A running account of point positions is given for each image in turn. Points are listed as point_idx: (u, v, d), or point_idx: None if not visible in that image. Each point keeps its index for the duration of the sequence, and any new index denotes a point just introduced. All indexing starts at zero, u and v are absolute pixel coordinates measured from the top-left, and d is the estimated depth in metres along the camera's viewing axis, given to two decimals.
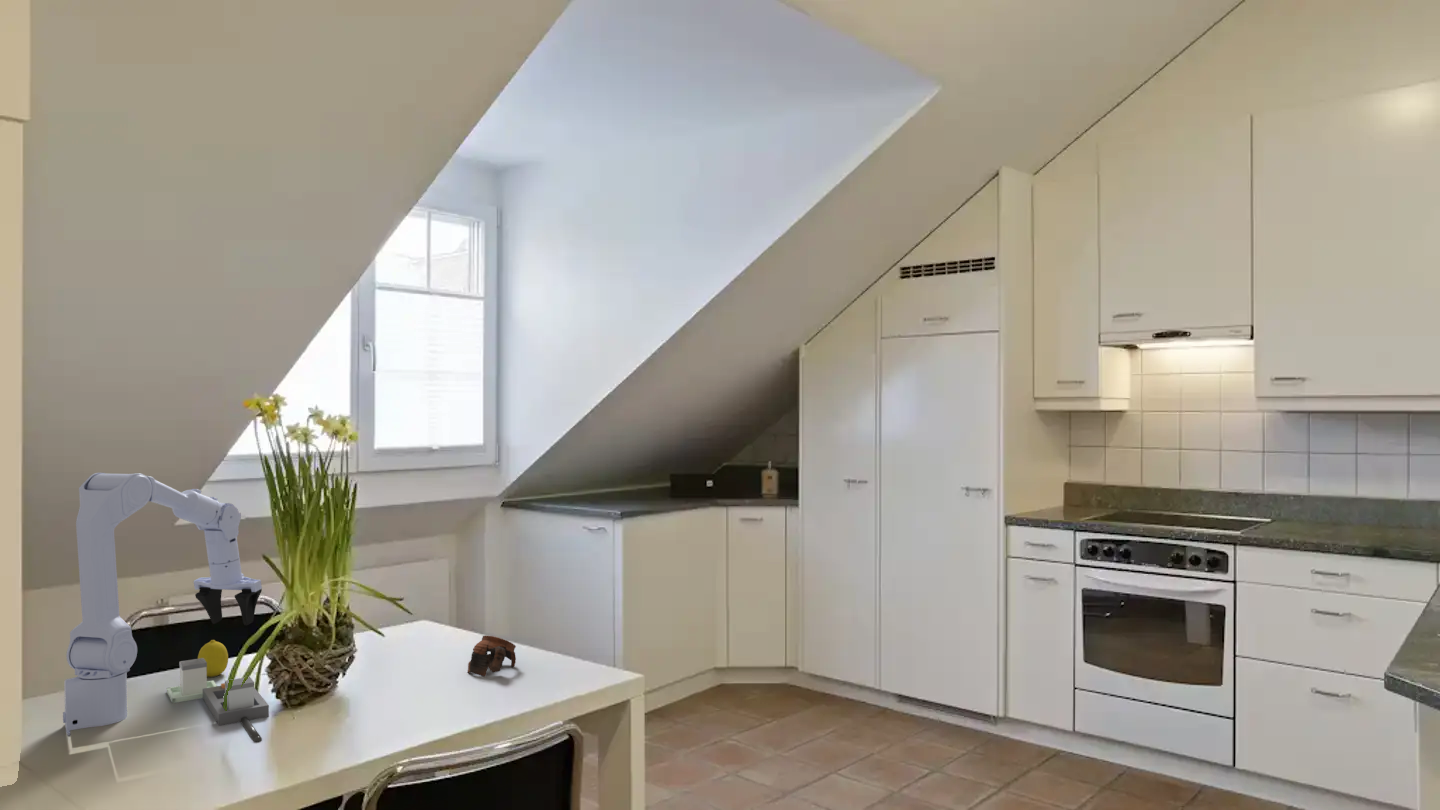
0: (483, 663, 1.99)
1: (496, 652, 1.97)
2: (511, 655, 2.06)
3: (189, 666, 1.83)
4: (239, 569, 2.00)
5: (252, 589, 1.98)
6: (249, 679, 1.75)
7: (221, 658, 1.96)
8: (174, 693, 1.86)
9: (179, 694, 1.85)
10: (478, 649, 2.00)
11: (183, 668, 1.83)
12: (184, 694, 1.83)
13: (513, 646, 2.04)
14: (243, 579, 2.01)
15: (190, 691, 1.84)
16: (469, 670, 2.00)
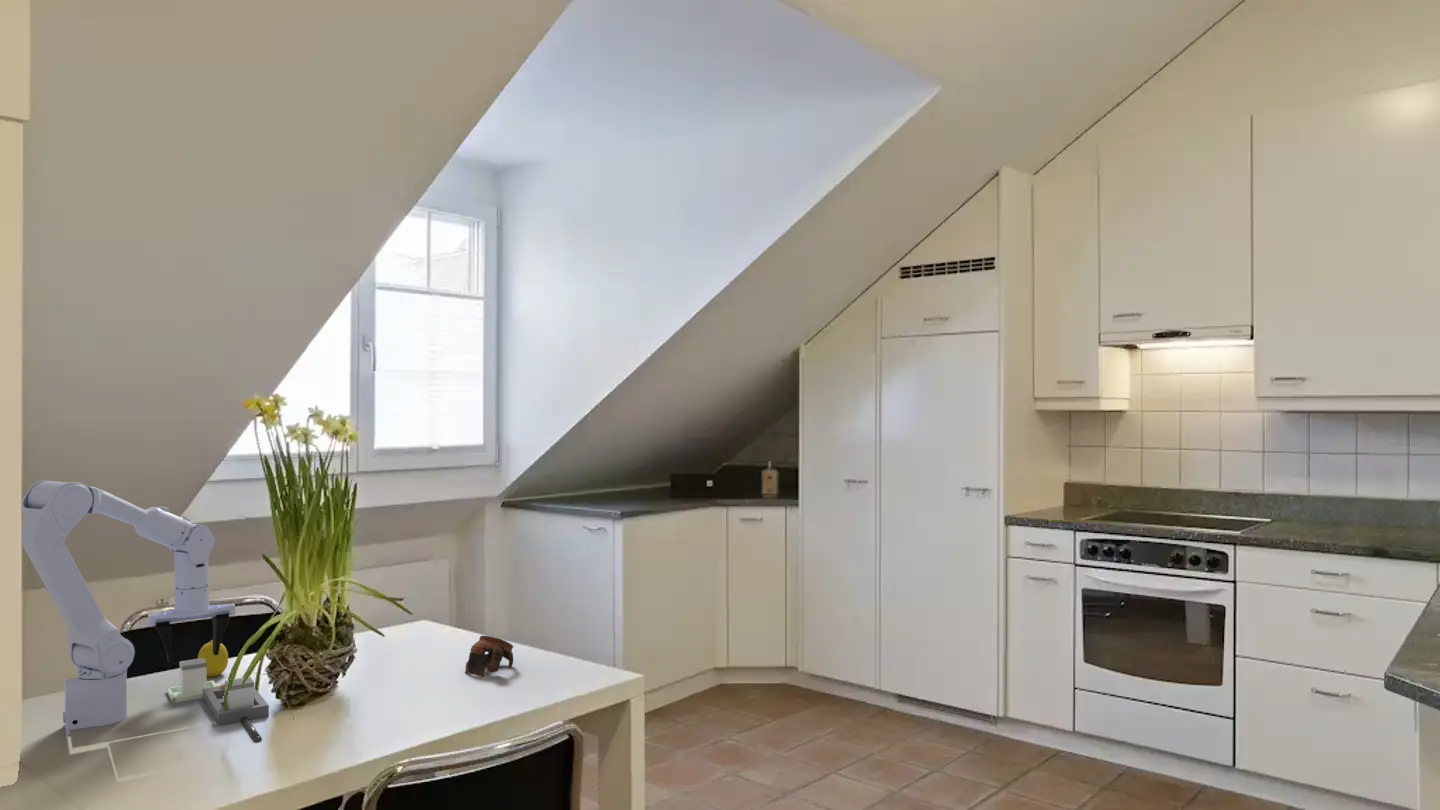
0: (481, 663, 1.99)
1: (494, 652, 1.97)
2: (509, 655, 2.06)
3: (189, 666, 1.83)
4: None
5: (231, 612, 1.89)
6: (249, 679, 1.75)
7: (221, 658, 1.96)
8: (174, 693, 1.86)
9: (179, 694, 1.85)
10: (476, 649, 2.00)
11: (183, 668, 1.83)
12: (184, 694, 1.83)
13: (511, 646, 2.04)
14: None
15: (190, 691, 1.84)
16: (467, 670, 2.00)
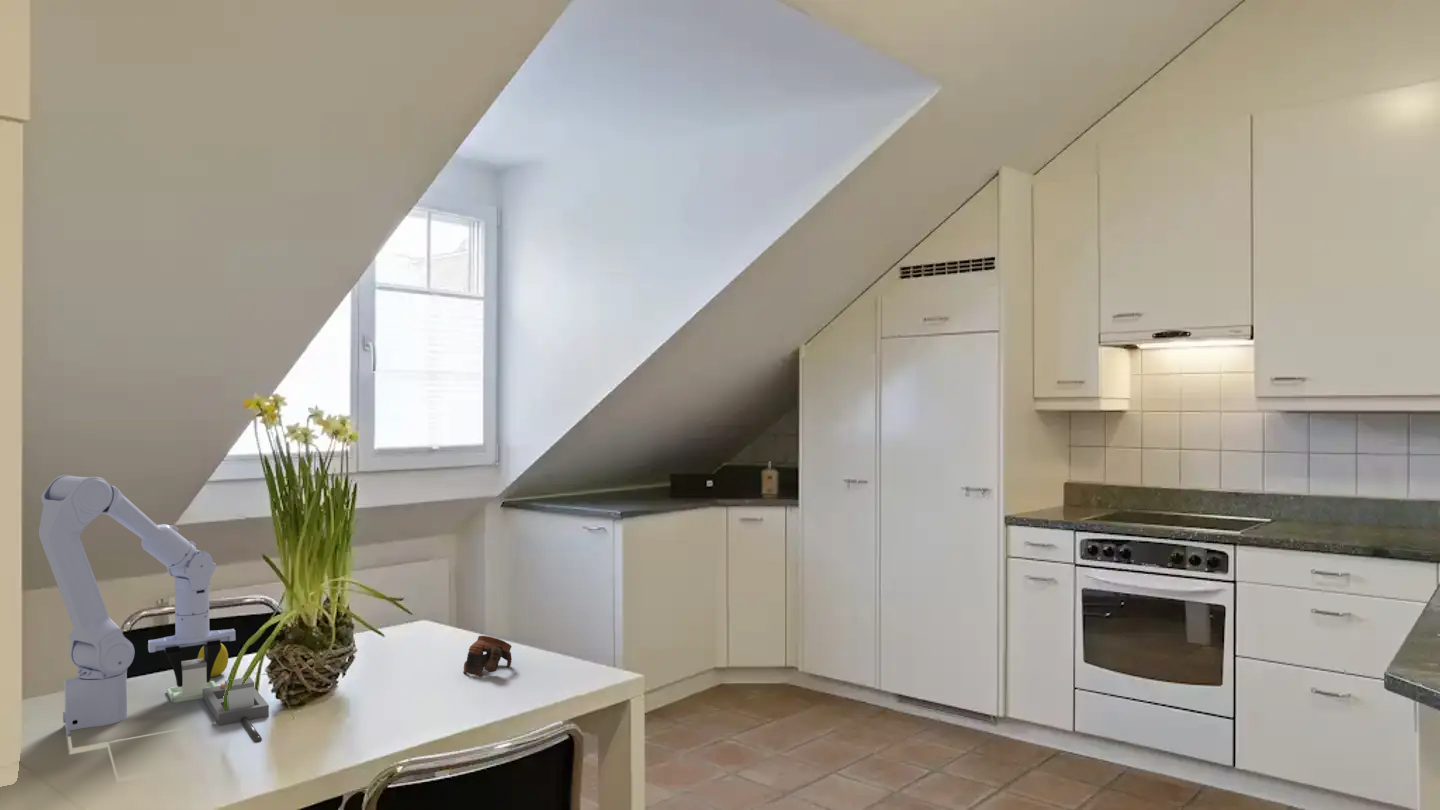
0: (479, 663, 1.99)
1: (492, 652, 1.97)
2: (507, 655, 2.06)
3: (189, 666, 1.83)
4: None
5: (231, 638, 1.89)
6: (249, 679, 1.75)
7: (221, 658, 1.96)
8: (174, 693, 1.86)
9: (179, 694, 1.85)
10: (474, 649, 2.00)
11: (183, 668, 1.83)
12: (184, 694, 1.83)
13: (509, 646, 2.04)
14: None
15: (190, 691, 1.84)
16: (465, 670, 2.00)
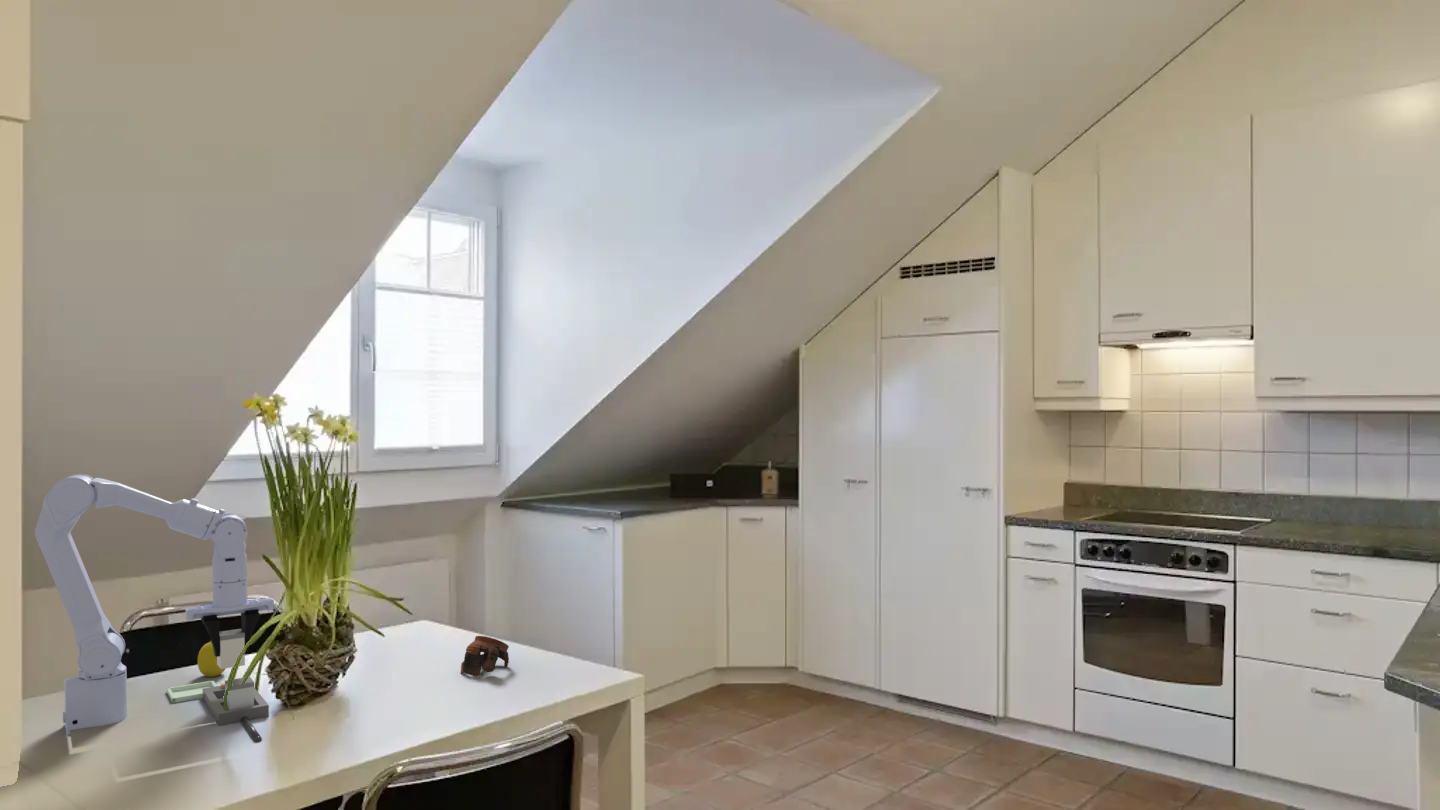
0: (476, 663, 1.98)
1: (489, 652, 1.97)
2: (504, 655, 2.06)
3: (227, 636, 1.78)
4: None
5: (270, 607, 1.83)
6: (249, 679, 1.75)
7: None
8: (174, 693, 1.86)
9: (179, 694, 1.85)
10: (471, 649, 2.00)
11: (221, 638, 1.78)
12: (222, 665, 1.78)
13: (506, 646, 2.04)
14: None
15: (228, 662, 1.79)
16: (462, 670, 2.00)
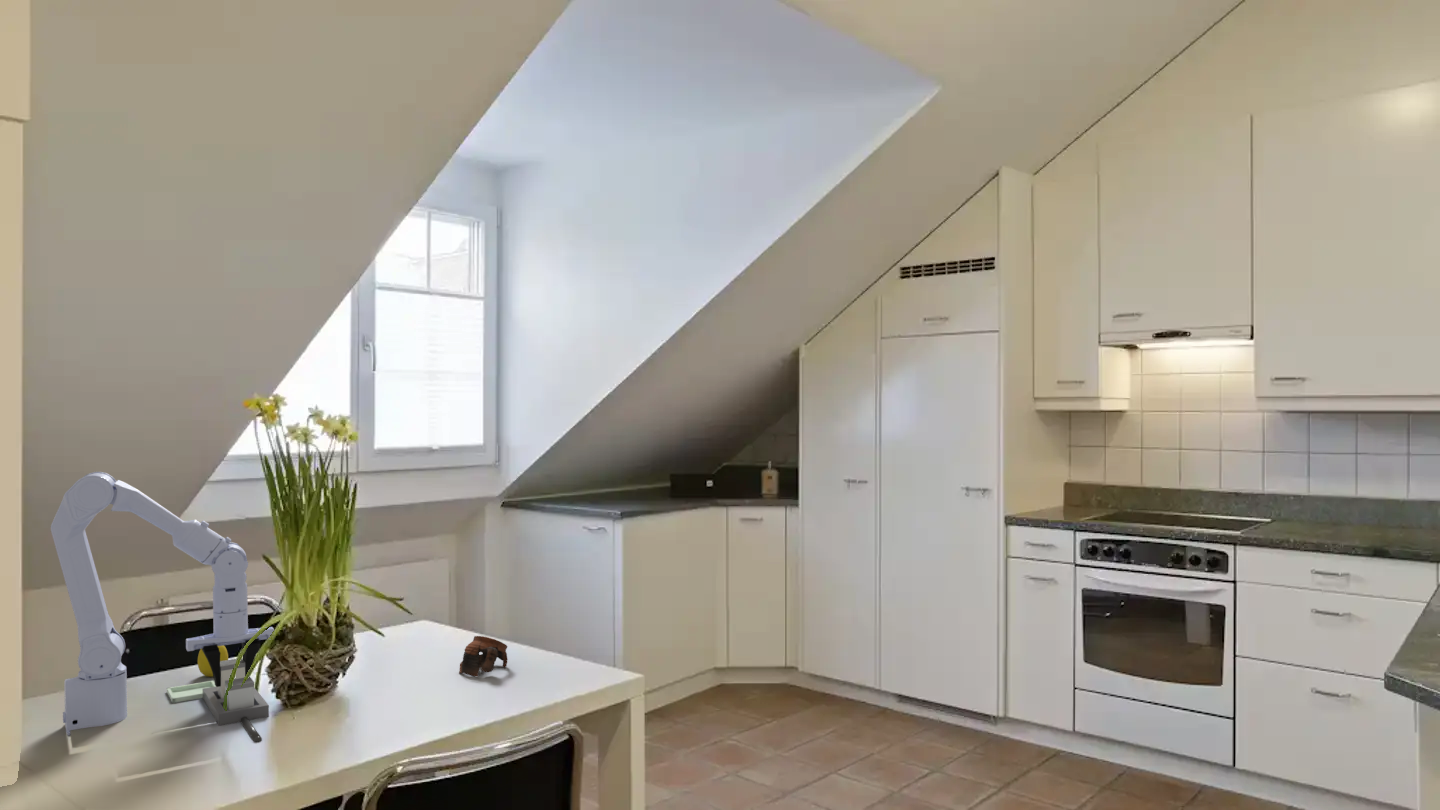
0: (475, 663, 1.98)
1: (488, 652, 1.97)
2: (503, 655, 2.06)
3: (227, 666, 1.79)
4: None
5: None
6: (249, 679, 1.75)
7: (221, 658, 1.96)
8: (174, 693, 1.86)
9: (179, 694, 1.85)
10: (470, 650, 2.00)
11: (221, 668, 1.78)
12: (222, 695, 1.78)
13: (505, 646, 2.04)
14: None
15: None
16: (461, 671, 2.00)
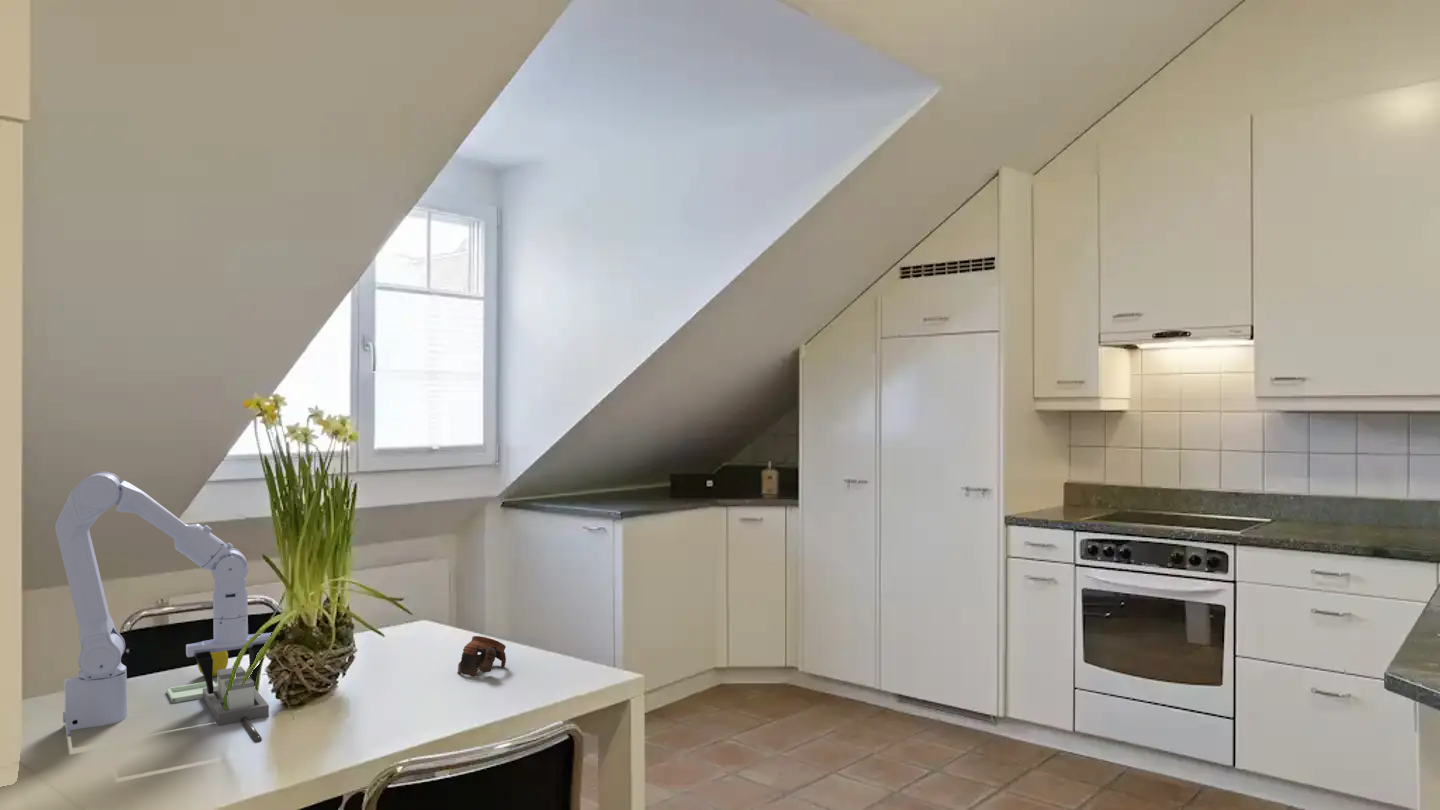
0: (473, 663, 1.98)
1: (487, 652, 1.97)
2: (501, 655, 2.06)
3: (228, 675, 1.79)
4: None
5: None
6: (249, 679, 1.75)
7: (221, 658, 1.96)
8: (174, 693, 1.86)
9: (179, 694, 1.85)
10: (468, 650, 2.00)
11: (222, 677, 1.78)
12: None
13: (503, 646, 2.04)
14: None
15: None
16: (459, 671, 2.00)
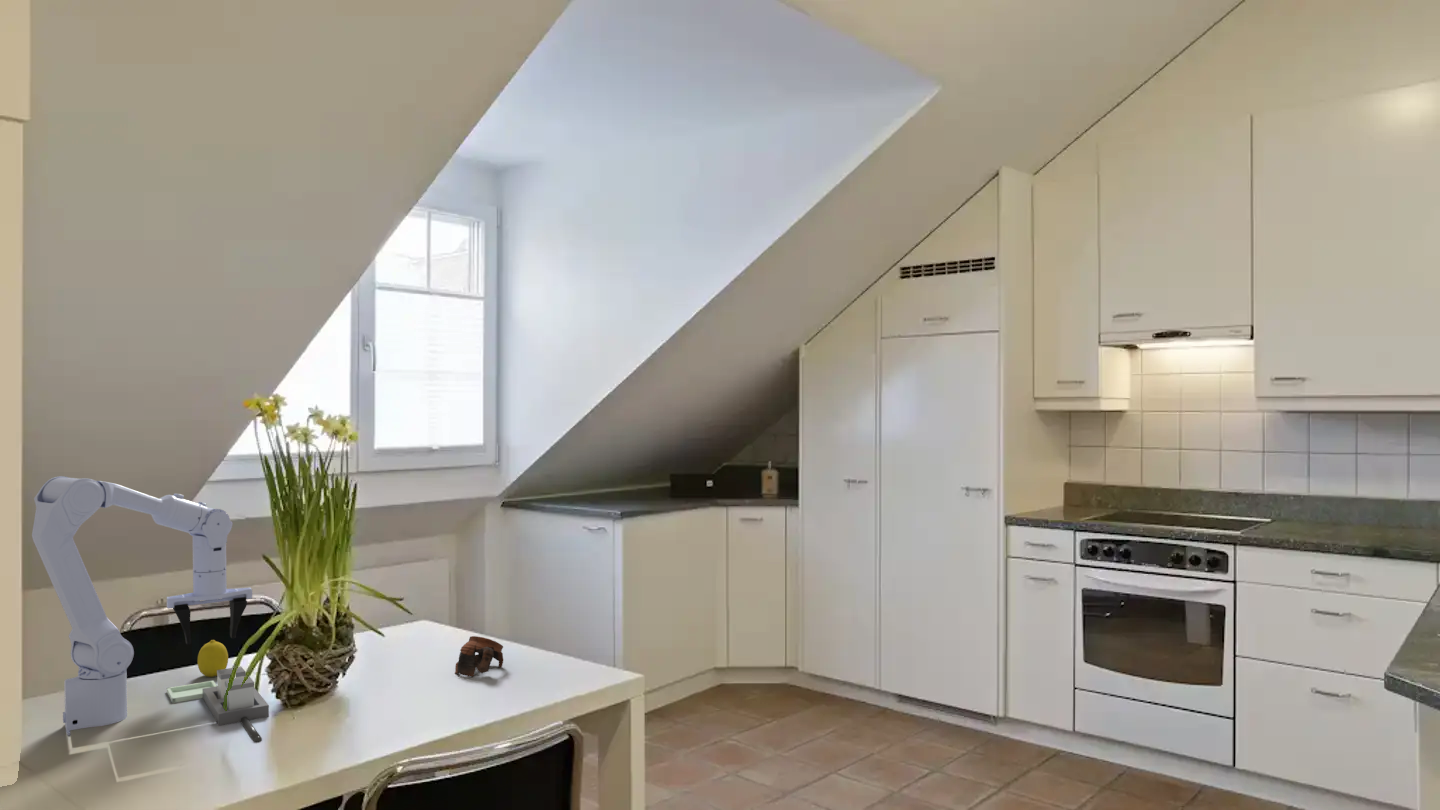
0: (471, 663, 1.98)
1: (484, 653, 1.97)
2: (498, 655, 2.06)
3: (228, 675, 1.79)
4: None
5: (248, 596, 1.91)
6: (249, 679, 1.75)
7: (221, 658, 1.96)
8: (174, 693, 1.86)
9: (179, 694, 1.85)
10: (466, 650, 2.00)
11: (222, 677, 1.78)
12: None
13: (501, 646, 2.03)
14: None
15: None
16: (457, 671, 1.99)
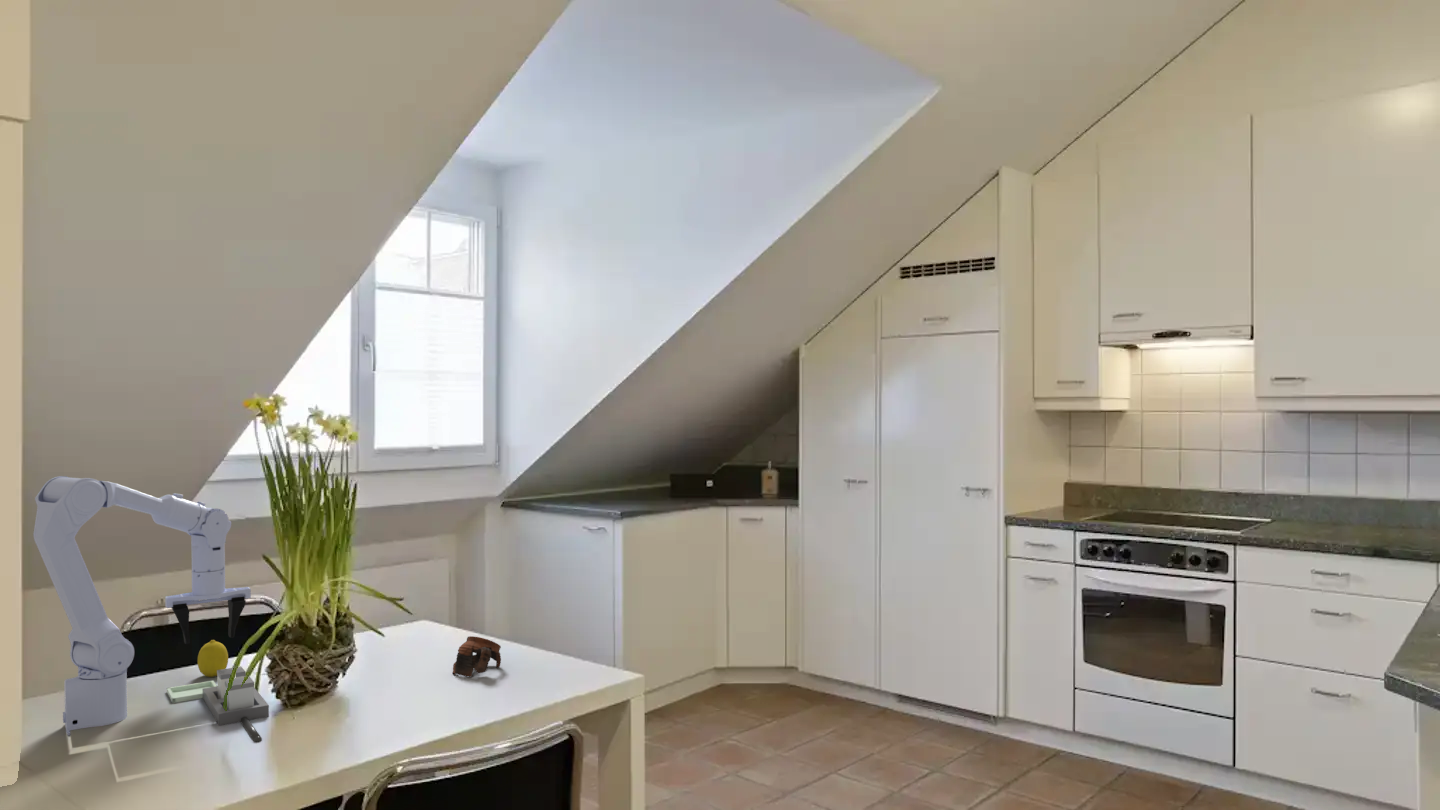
0: (469, 664, 1.98)
1: (482, 653, 1.97)
2: (496, 656, 2.05)
3: (228, 675, 1.79)
4: None
5: (247, 595, 1.91)
6: (249, 679, 1.75)
7: (221, 658, 1.96)
8: (174, 693, 1.86)
9: (179, 694, 1.85)
10: (463, 650, 2.00)
11: (222, 677, 1.78)
12: None
13: (498, 647, 2.03)
14: None
15: None
16: (454, 671, 1.99)
